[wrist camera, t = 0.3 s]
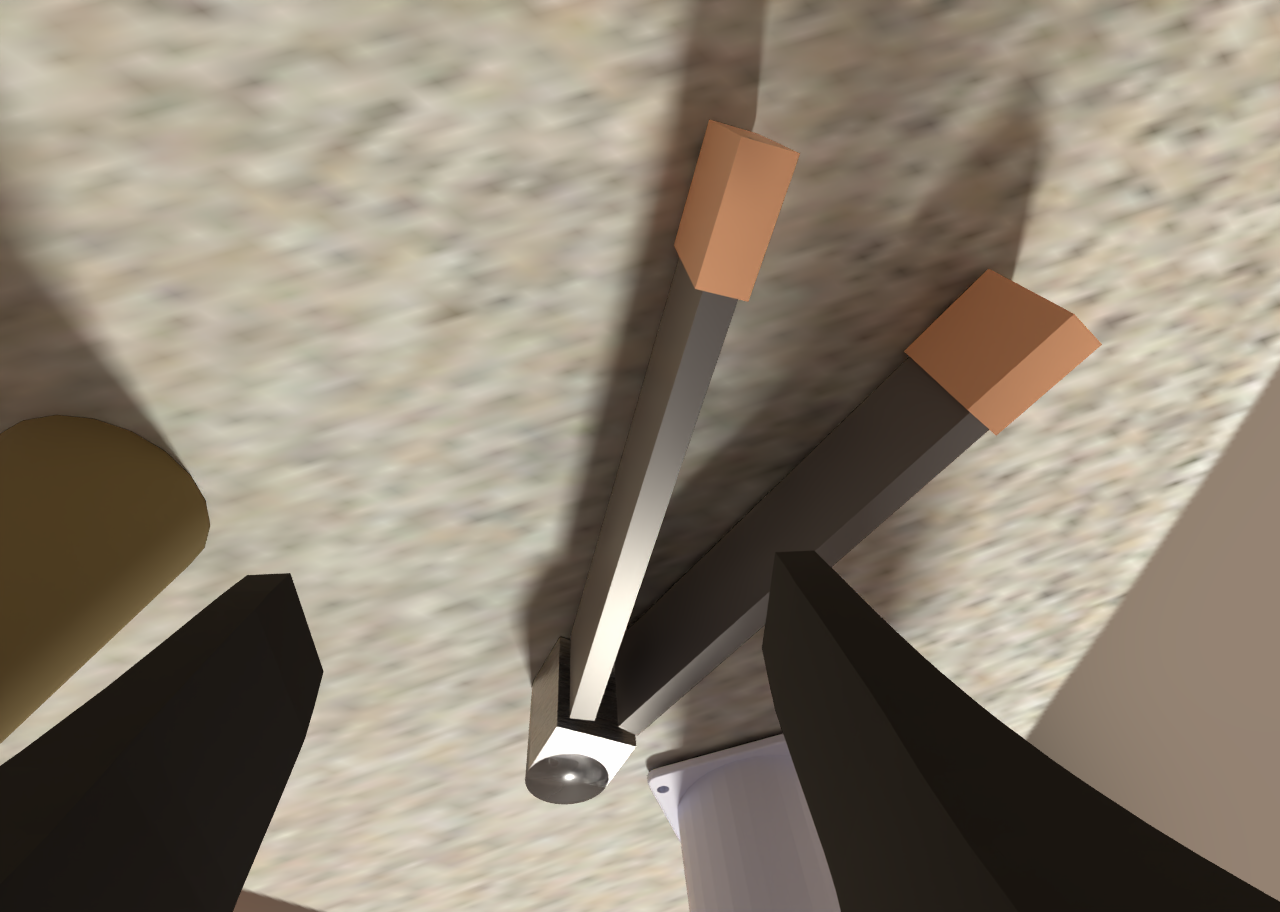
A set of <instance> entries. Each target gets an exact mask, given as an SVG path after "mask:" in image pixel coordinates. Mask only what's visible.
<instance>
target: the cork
mask: <svg viewBox="0 0 1280 912" xmlns="http://www.w3.org/2000/svg"><path fill="white" fill-rule="evenodd" d="M209 528H210V523H209V517H208V512H207V507H206V502H205V499H204V498H203V496H202V494H201V493H200V491H199V489H198V488H197V486H196V484H195V483H194V481H193V479H192V478H191V476H190V475H189V474H188V473H187V472H186V471H185V470H184V469H183V468H182V467H181V466H180V465H179V464H178V463H177V462H176V461H175V460H174V459H172V458H171V457H170V456H169V455H168V454H167V453H166V452H165V451H164V450H162V449H160V448H159V447H157V446H155V445H154V444H152V443H150V442H148V441H147V440H145V439H143V438H142V437H140V436H138V435H137V434H135V433H133V432H132V431H129V430H126V429H123V428H120V427H117V426H114V425H111V424H108V423H105V422H102V421H99V420H96V419H90V418H81V417H71V416H61V415H53V416H48V417H42V418H36V419H30V420H24V421H21V422H20V423H18V424H16V425H14V426H13V427H11V428H9V429H7V430H6V431H4V432H2V433H1V434H0V743H2V742H3V741H4V740H5V739H6V738H7V737H8V736H9V735H10V734H11V733H12V732H13V731H14V730H15V729H16V728H17V727H18V726H20V725H21V724H22V723H23V722H24V721H25V720H26V719H27V718H28V717H29V716H30V715H31V714H32V713H33V712H34V711H35V710H36V709H38V708H39V707H40V706H41V705H42V704H43V703H44V702H45V701H46V700H47V699H48V698H49V697H50V696H51V695H52V694H53V693H54V692H56V691H57V690H58V689H59V688H60V687H61V686H62V685H63V684H64V683H65V682H66V681H67V680H68V679H69V678H70V677H71V676H72V675H74V674H75V673H76V672H77V671H78V670H79V669H80V668H81V667H82V666H83V665H84V664H85V663H86V662H87V661H88V660H89V659H90V658H92V657H93V656H94V655H95V654H96V653H97V652H98V651H99V650H100V649H101V648H102V647H103V646H104V645H105V644H106V643H107V642H108V641H109V640H111V639H112V638H113V637H114V636H115V635H116V634H117V633H118V632H119V631H120V630H121V629H122V628H123V627H124V626H125V625H126V624H127V623H129V622H130V621H131V620H132V619H133V618H134V617H135V616H136V615H137V614H138V613H139V612H140V611H141V610H142V609H143V608H144V607H145V606H147V605H148V604H149V603H150V602H151V601H152V600H153V599H154V598H155V597H156V596H157V595H158V594H159V593H160V592H161V591H162V590H163V589H165V588H166V587H167V586H168V585H169V584H170V583H171V582H172V581H173V580H174V579H175V578H176V577H177V576H178V575H179V574H180V573H181V572H183V571H184V570H185V569H186V568H187V567H188V566H189V565H190V564H191V563H192V561H193V560H194V559H195V558H196V557H197V556H198V555H199V553H200V552H201V551H202V550H203V549H204V548H205V544H206V540H207V536H208V532H209Z"/></svg>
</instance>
